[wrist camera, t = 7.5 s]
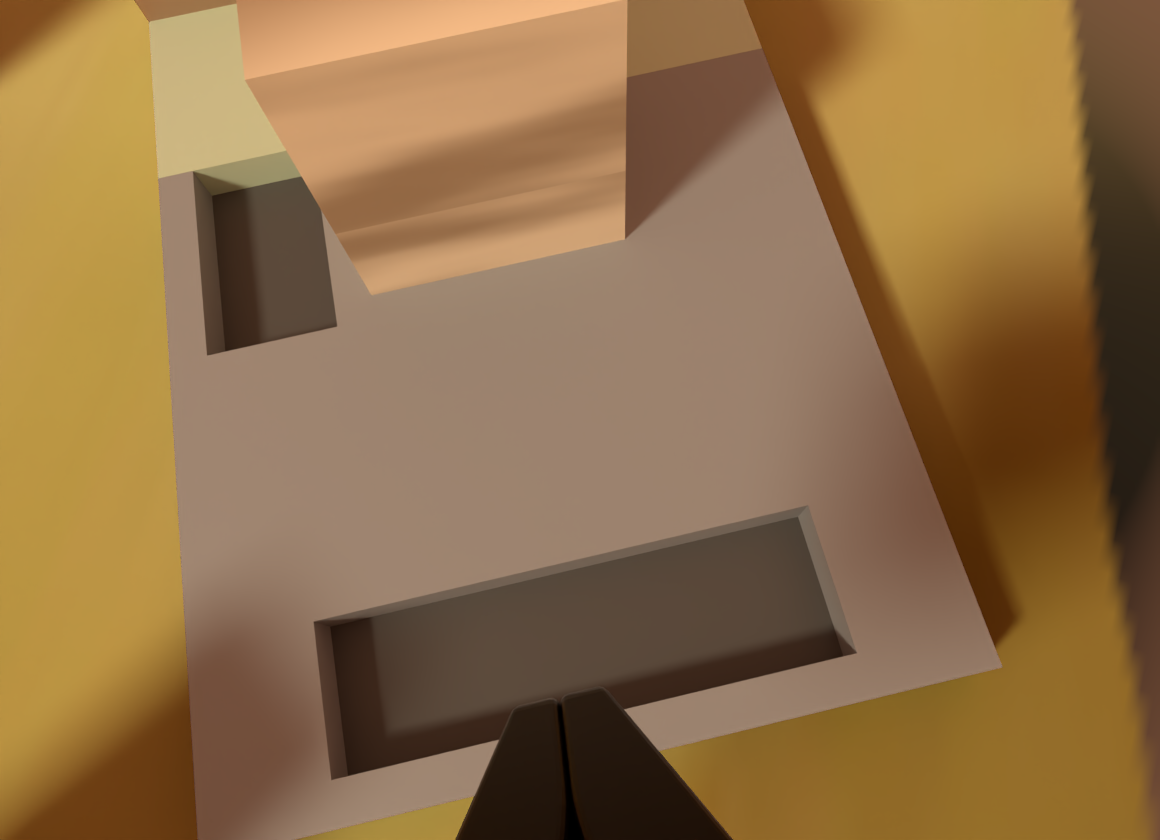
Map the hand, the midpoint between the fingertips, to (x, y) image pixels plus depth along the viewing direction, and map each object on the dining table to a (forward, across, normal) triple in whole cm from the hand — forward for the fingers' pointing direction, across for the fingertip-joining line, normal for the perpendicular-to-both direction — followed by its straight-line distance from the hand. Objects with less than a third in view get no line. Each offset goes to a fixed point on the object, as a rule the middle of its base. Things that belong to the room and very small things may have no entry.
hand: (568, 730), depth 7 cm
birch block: (+20, 0, -4) cm, 20 cm away
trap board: (+15, 0, +3) cm, 15 cm away
